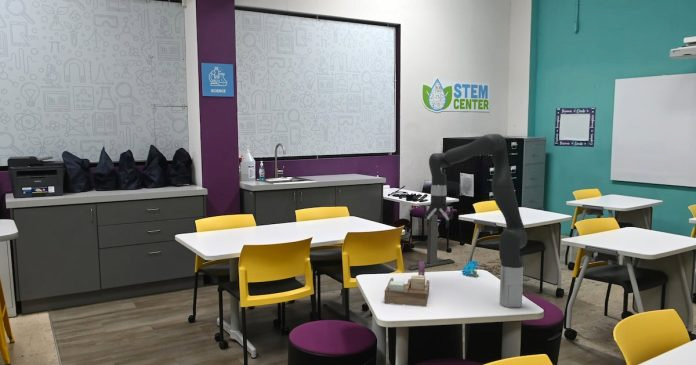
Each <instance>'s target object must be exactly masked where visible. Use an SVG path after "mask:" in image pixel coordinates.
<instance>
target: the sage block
mask: <svg viewBox="0 0 696 365" xmlns="http://www.w3.org/2000/svg"><path fill="white" fill-rule="evenodd" d="M404 284H406V283H405V281H401V280H400V281H399V280H393V281H391V282H390V284H389V290H393V291H404Z"/></svg>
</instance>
